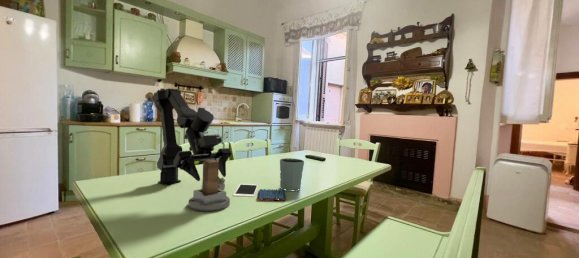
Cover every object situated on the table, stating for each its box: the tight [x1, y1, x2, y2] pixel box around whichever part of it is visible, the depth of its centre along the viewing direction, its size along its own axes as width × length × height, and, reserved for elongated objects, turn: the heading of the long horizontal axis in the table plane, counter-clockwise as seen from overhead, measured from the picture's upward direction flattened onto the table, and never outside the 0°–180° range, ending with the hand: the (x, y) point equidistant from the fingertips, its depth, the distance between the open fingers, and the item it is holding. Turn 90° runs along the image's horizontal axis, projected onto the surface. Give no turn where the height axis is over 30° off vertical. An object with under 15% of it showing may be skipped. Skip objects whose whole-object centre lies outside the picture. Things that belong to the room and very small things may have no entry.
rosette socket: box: [187, 188, 231, 213], centre depth 84 cm, size 13×13×4 cm
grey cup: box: [279, 157, 305, 191], centre depth 108 cm, size 10×10×12 cm
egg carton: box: [218, 176, 226, 191], centre depth 105 cm, size 11×8×4 cm
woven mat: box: [256, 188, 287, 202], centre depth 96 cm, size 10×11×2 cm
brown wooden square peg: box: [201, 159, 220, 195], centre depth 84 cm, size 4×4×13 cm
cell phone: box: [232, 183, 259, 198], centre depth 103 cm, size 8×16×1 cm, turn 1°
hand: (212, 178), depth 83 cm, fingers open, 9 cm apart
